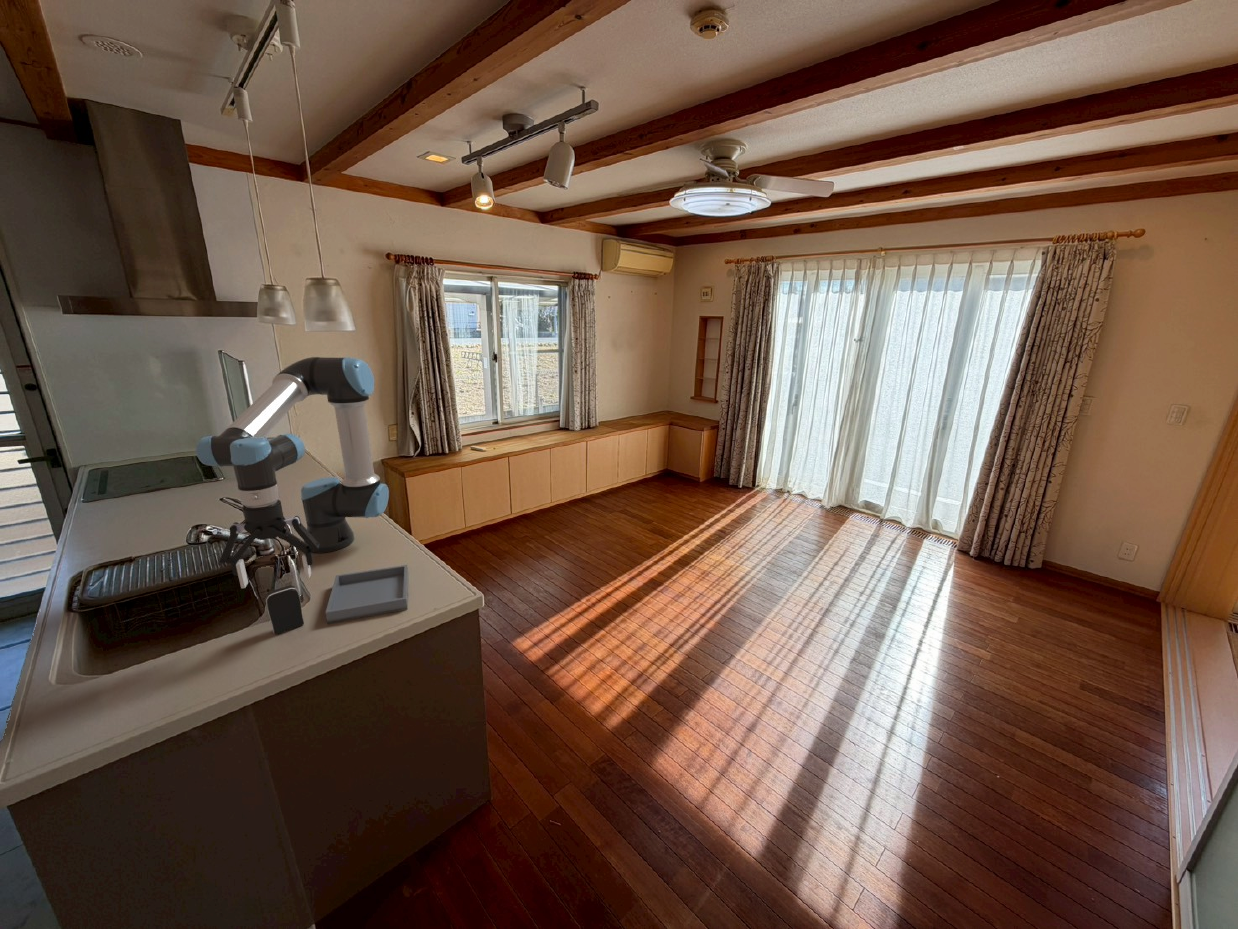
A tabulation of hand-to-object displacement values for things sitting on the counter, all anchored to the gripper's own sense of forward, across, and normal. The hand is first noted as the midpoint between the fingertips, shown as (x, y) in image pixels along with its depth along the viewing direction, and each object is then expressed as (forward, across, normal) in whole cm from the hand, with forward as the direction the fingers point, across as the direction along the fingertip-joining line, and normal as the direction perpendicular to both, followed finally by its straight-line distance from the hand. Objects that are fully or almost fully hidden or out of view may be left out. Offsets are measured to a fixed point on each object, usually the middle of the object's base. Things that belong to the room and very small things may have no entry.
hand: (277, 580), depth 122 cm
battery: (+14, 0, 0) cm, 14 cm away
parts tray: (+14, +19, +8) cm, 25 cm away
